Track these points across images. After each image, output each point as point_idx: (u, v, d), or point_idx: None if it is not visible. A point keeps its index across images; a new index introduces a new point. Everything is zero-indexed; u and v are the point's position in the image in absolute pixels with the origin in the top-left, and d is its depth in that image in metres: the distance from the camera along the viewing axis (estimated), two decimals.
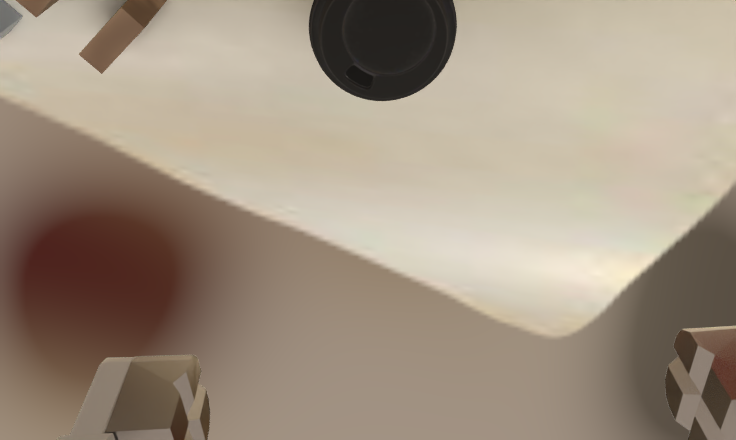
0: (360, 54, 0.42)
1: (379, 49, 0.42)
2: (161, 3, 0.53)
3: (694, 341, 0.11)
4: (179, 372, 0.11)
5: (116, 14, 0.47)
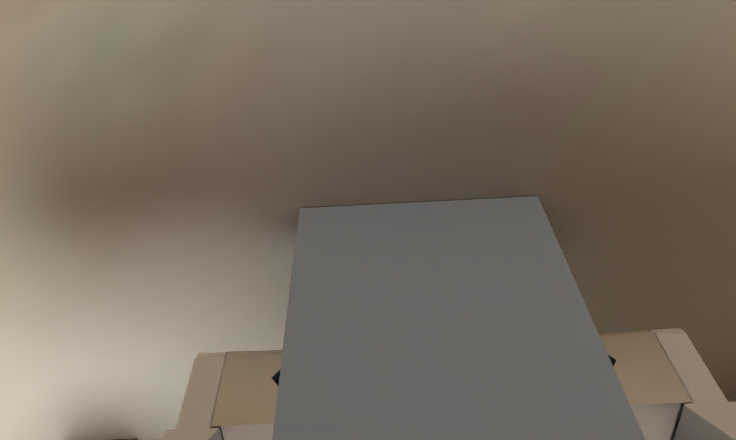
0: None
1: None
2: None
3: None
4: (277, 367, 0.11)
5: None
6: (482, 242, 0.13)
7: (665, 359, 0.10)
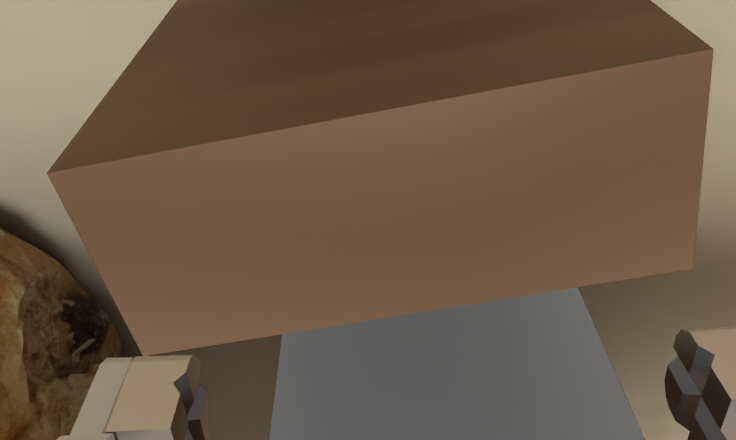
0: None
1: None
2: None
3: (694, 341, 0.11)
4: (179, 373, 0.11)
5: None
6: None
7: None
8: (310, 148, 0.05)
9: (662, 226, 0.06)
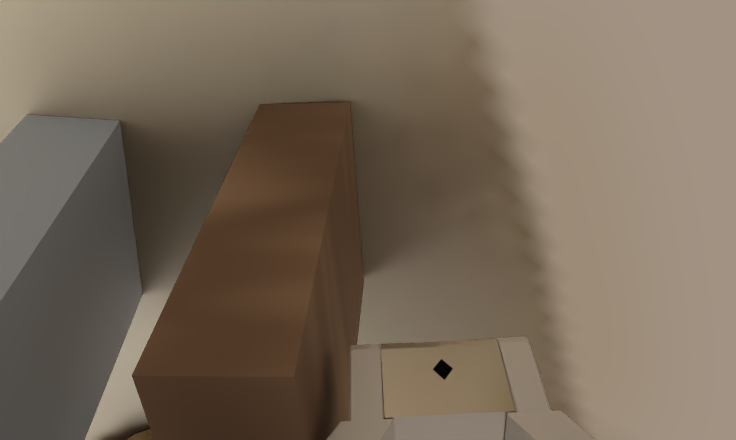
0: None
1: None
2: None
3: (439, 354, 0.11)
4: (435, 359, 0.11)
5: None
6: None
7: (501, 367, 0.10)
8: None
9: None
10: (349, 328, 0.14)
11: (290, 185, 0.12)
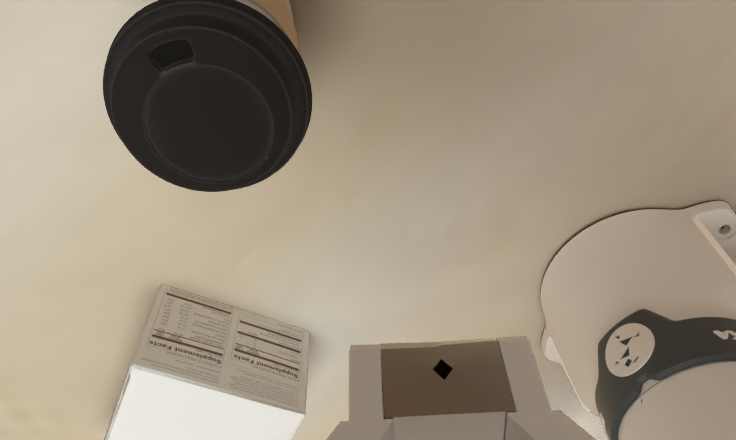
0: (201, 76, 0.29)
1: (192, 100, 0.29)
2: None
3: (439, 354, 0.11)
4: (436, 359, 0.11)
5: None
6: None
7: (501, 367, 0.10)
8: None
9: None
10: None
11: None
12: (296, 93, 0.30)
